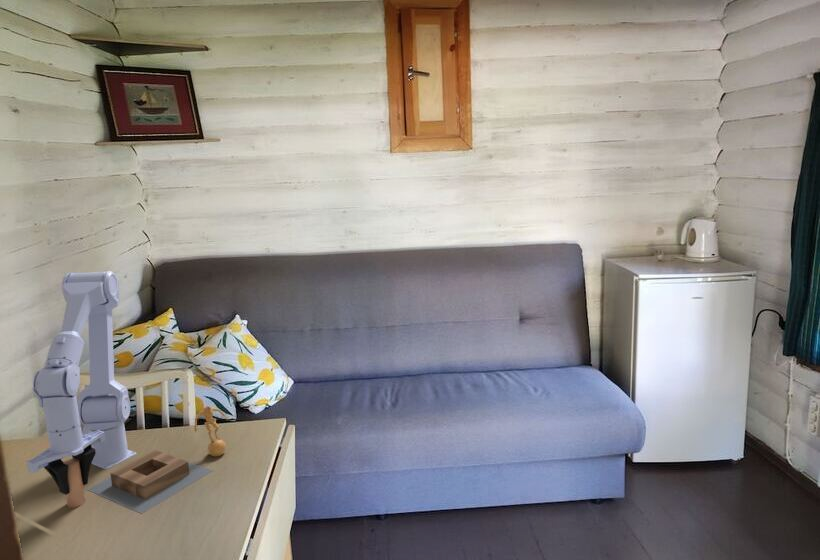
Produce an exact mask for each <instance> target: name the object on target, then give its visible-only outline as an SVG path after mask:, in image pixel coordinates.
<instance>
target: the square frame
mask: <svg viewBox="0 0 820 560" xmlns="http://www.w3.org/2000/svg"><path fill="white" fill-rule="evenodd" d="M188 462H189V461H187V460H185V459H182V458H179V457H176V456H174V455H170V454H167V453H164V452H162V451H159V450H156V449H154V450H152V451H150V452H148V453H146V454H144V455H142V456H140V457H138V458H136V459H135V460H132V461H131V462H129V463H127V464H125V465H123V466H121V467H118V468H117V469H115V470H113V471H111V472H110V473H109V474H110V477H111V481H112V486H114V487H117V488H119V489H121V490H124V491H126V492H128V493H131V494H133V495H136V496H138V497H140V498H143V499H145V500H146V499H148V498H149V497H151V496H153V495H154V494H156V493H158V492H160V491H161V490H163V489H165V488H166V487H168V486H170V485H172V484H173V483H175V482H177V481H178V480H180V479H182V478H184V477H185V476H187V475H189V466H188ZM153 471H155V472H153ZM151 472H153V473H151ZM149 473H151V474H150V475H148V474H149ZM146 475H148V476H146Z"/></svg>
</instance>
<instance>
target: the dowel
mask: <svg viewBox="0 0 820 560" xmlns="http://www.w3.org/2000/svg"><path fill="white" fill-rule="evenodd" d="M63 463H64V464H66V465H68V484H69V493H68V494H67V495H65V497H66V498H65V499H66V504H67V507H68V508H72V509H73V508H78V507H80V506H82V505H84V504H85V503H86V495H85V489H84V485H83V482H82V476H81V469H80V463H79V460H78V459H73V458H70V459H67V460H66V459H65V460H63Z"/></svg>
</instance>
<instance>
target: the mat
mask: <svg viewBox="0 0 820 560" xmlns="http://www.w3.org/2000/svg"><path fill="white" fill-rule="evenodd" d="M188 466H189V475H187V476H185V477H184V478H182V479H180V480H178V481H177V482H175V483H173V484H172V485H170V486H168V487H166V488H165V489H163V490H161V491H160V492H158V493H156V494H154V495H153V496H151V497H149V498H148V499H146V500H145V499H143V498H140V497H138V496H136V495H133V494H131V493H128V492H126V491H124V490H121V489H119V488H117V487H114V486H112V481H111V476H110V477H108V478H107V479H104V480H102V481H100V482H99V483H96V484H95V485H93V486H90V487H89V488H87V489H86V491H89V492H91V493H93V494H95V495H98V496H99V497H102V498H105V499H106V500H110V501H111V502H114V503H116V504H118V505H121V506H123V507H125V508H127V509H130V510H132V511H134V512H137V513H139V514H141V515H142V514H143V513H146V512H147V511H149V510H150V509H152V508H154V507H155V506H157V505H159V504H160V503H162V502H164V501H165V500H167V499H169V498H170V497H172V496H173V495H176V494H177V493H178V492H180V491H182V490H184V489H185V488H187V487H189V486H190V485H192V484H194V483H195V482H197V481H199V480H200V479H202V478H203V477H205V476H207V475H208V474H210V473H212V472H213V471H214V470H213V469H210V468H207V467H204V466H201V465H198V464H196V463H193V462H191V461H188ZM153 472H155V471H153ZM153 472H151V473H153ZM151 473H149V474H148V475H150V474H151ZM148 475H146V476H148Z"/></svg>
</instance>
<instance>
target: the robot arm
mask: <svg viewBox="0 0 820 560" xmlns="http://www.w3.org/2000/svg"><path fill="white" fill-rule="evenodd" d="M119 288H120V287H119V280H118V278H117V276H116V274H115V273H114V272H113V271H112V270H106V271H95V272H94V271H92V272H91V271H90V272H67V273H66V274H65V275H64V277H63V279H62V281H61V290H62V294H63V295H62V296H63V299H64V301H65V302H66V304H65V311H64V314H63V320H62V325H61V329H60V330H61V331H60V333H58V334H55V335H54V336H53V337H52V340H51V343H50V346H49V349H48V353H47V355H46V359H45V363H44V366H43V368H41V369H40V370H39V371H37V372H35V375H34V377H33V380H32V381H33V383H32V386H33V387H32V392H33V394H34V396H35V398H37V400H38V405H39V406H40V408H42V409H43V414H44V415H43V416H44V420H45V426H46V431H47V437H48V443H49V448H47V449H46V450H44V451H43V452H41V453H40V454H38V455H36V456H35V457H33V458H31V459H30V460H28V461H26V467H27V471H28V472H30V473H32V474H36V473H38V472H39V471H40V470H41V469H43V468H44V469H45V470H46V472H47V473H48V474H49V475H50V476H51V478H52V479H53V480H54V482H55V484H56V485H57V487H58V490H59V492H60V493H61V494H63V495H65V496H66V495H67V494H68V493H69V484H68V465H66V464H64V463H63V462H64V460H62V459H64V458H67V457H72V459H78V460H79V463H80V469H81V476H82V482H83V486H86V485H88V483H89V482H88V481H89V476H90V475H89V474H90V470H91V466H92V465H94V466H97V467H99V468H101V469H104V470H107V469H110V468H112V467H114V466H116V465H118V464H119V463H121V462H124V461H126V460H128V459H129V458H132V457H134V456H135V455H137V452H136V451H132V450H131V449H128V442H127V435H126V428H125V422H126V421H127V419H128V418H129V416H130V413H131V401H130V397H129V390H128V388H127V387H126V386H125V385H123V384H121V383H120V382H118V381H117V380H116V379H115V366H114V365H115V364H114V363H115V361H114V330H113V328H114V327H113V310H114V309H115V308H117V307H118V306H119V303H120V302H119V301H120V296H119V295H120V293H119V292H120V291H119V290H120V289H119ZM86 322H88V350H89V351H88V352H89V353H88V356H89V358H88V359H89V384H88V385H87V386H86V387H84V388H83V389H81V391H80V392H79V388H80V385H81V384H80V382H81V377H80V376H81V375H80V374H81V368H80V367H79V365H80V361H81V357H82V355H83V354H82V353H83V350H84V346H85V341H84V339H83V338H82V337H81V336H82V333H83V330H84V328H85V326H86ZM78 392H79V393H78ZM77 393H78V394H79V395H78V399H77ZM81 425H84V426H83V428H82V426H81Z"/></svg>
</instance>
